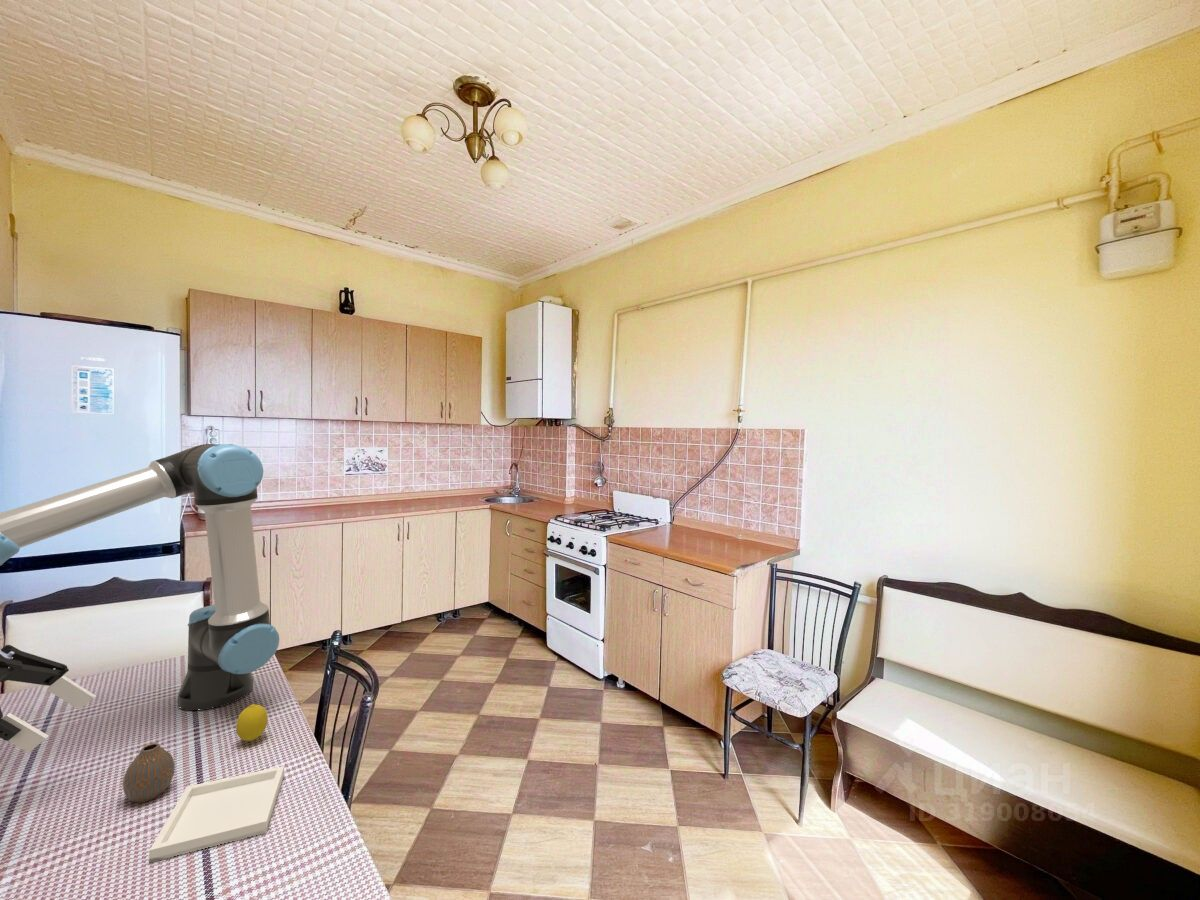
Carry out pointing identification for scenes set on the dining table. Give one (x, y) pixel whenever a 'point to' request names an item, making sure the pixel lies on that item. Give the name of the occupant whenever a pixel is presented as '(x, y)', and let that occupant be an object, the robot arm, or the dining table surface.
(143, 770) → the vase
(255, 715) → the lemon
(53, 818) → the dining table surface
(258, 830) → the holder tray
